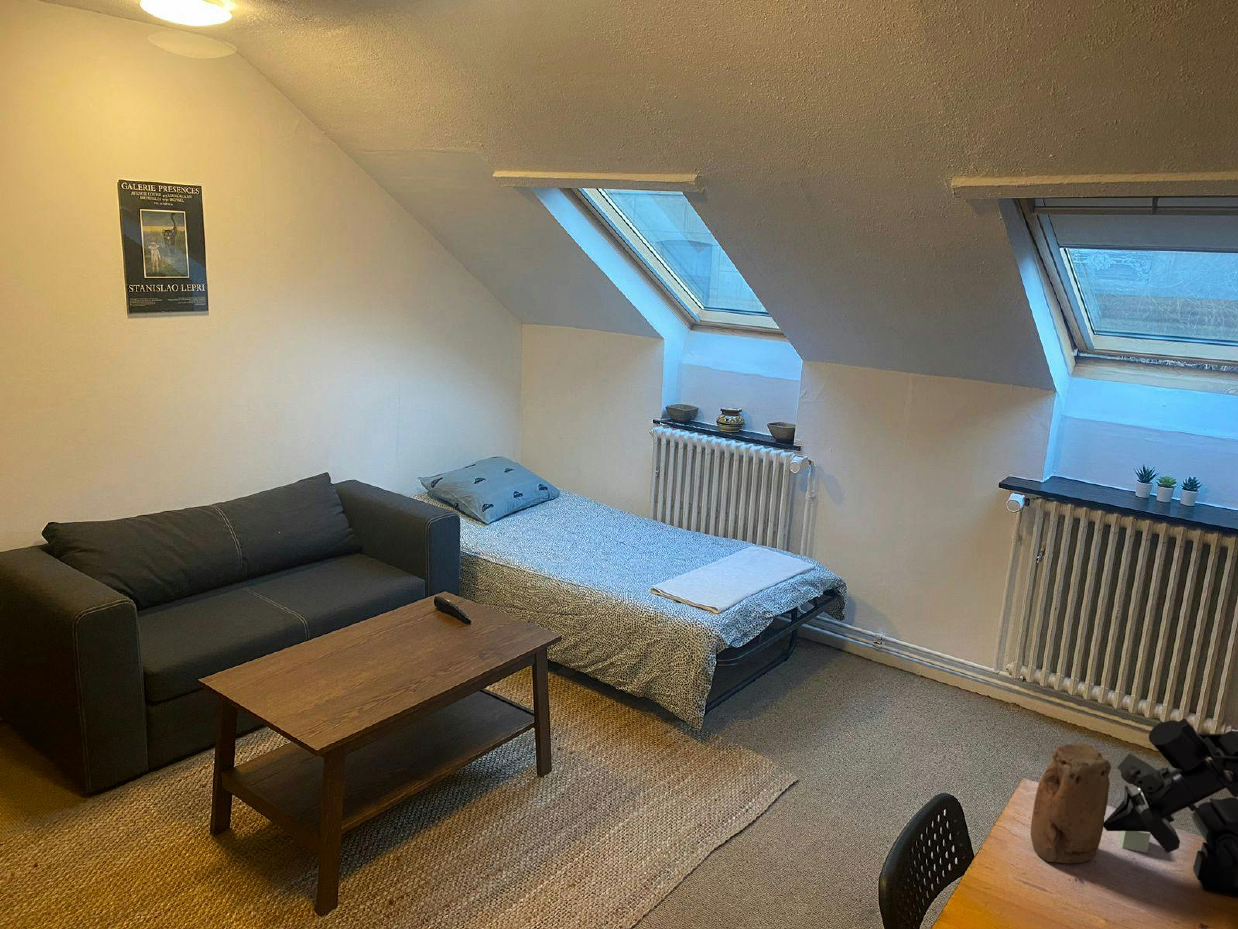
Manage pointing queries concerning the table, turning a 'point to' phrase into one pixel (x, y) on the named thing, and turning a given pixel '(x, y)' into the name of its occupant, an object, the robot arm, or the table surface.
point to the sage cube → (1134, 840)
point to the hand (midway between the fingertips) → (1104, 827)
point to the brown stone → (1071, 805)
